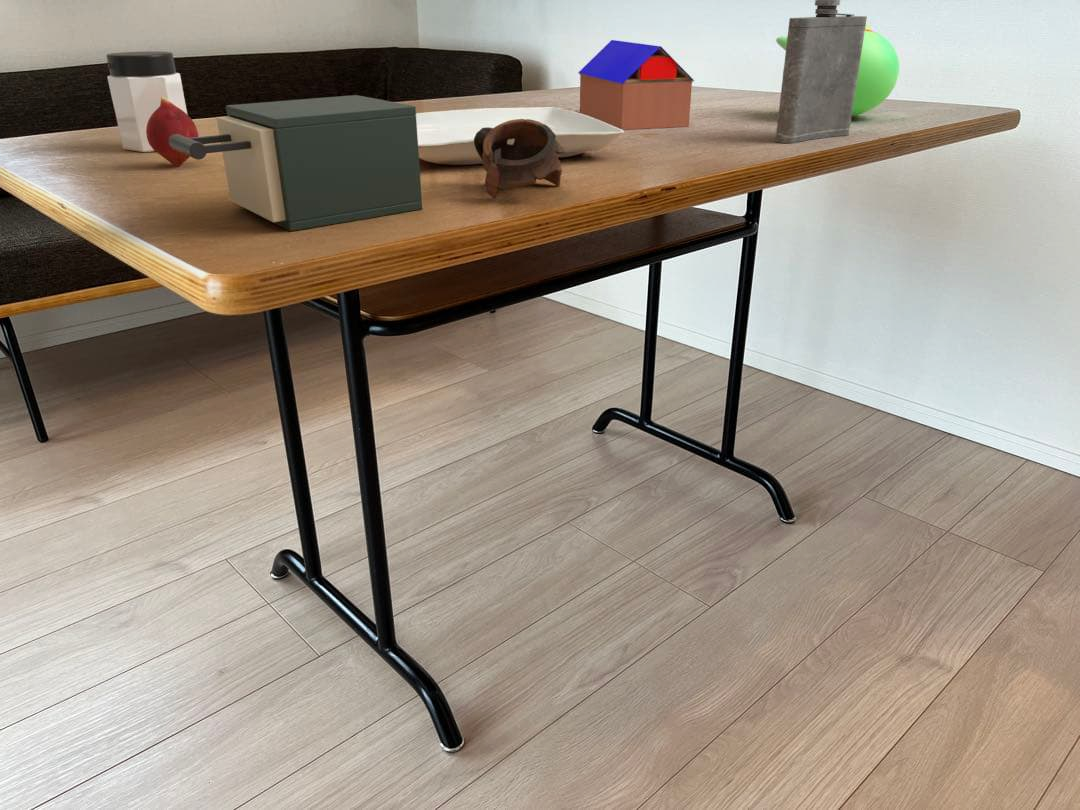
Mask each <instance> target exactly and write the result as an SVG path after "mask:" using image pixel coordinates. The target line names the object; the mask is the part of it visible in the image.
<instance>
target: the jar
mask: <svg viewBox="0 0 1080 810" xmlns="http://www.w3.org/2000/svg"><path fill="white" fill-rule="evenodd" d="M174 58H175V57H174V53H173V52H170V51H125V52H112V53H107V54H106V61H107V62H106V65H107V68H108V70H109V75H107V83H108V87H109V91H110V96H111V100H112V101H111V102H112V104H113V109H114V110H113V111H114V113H115V118H116V123H117V127H118V131H119V137H120V141H121V145H122V149H123V150H126V151H127V150H128V151H133V152H139V153H152V152H153V153H154V152H155V153H156V151H154V149H153V148H152V147H151V146H150V145H149V142H148V139H147V134H146V129H147V123H148V121H149V118H150V117H151V115H152V114H153V112H154V111H155V110H156V109H158V108H159V107H160V102H161V97H165V98H167V99H168V101H169V102H171V103H172V104H174V105H175V106H176V107H178V108H180V109H181V110H183V111H184V112H185V113H186V114H187V115H188V110H187V104H186V98H185V95H184V89H183V88H184V87H183V83H182V78H181V73H180V72H177V69H176V64H175V59H174Z"/></svg>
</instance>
